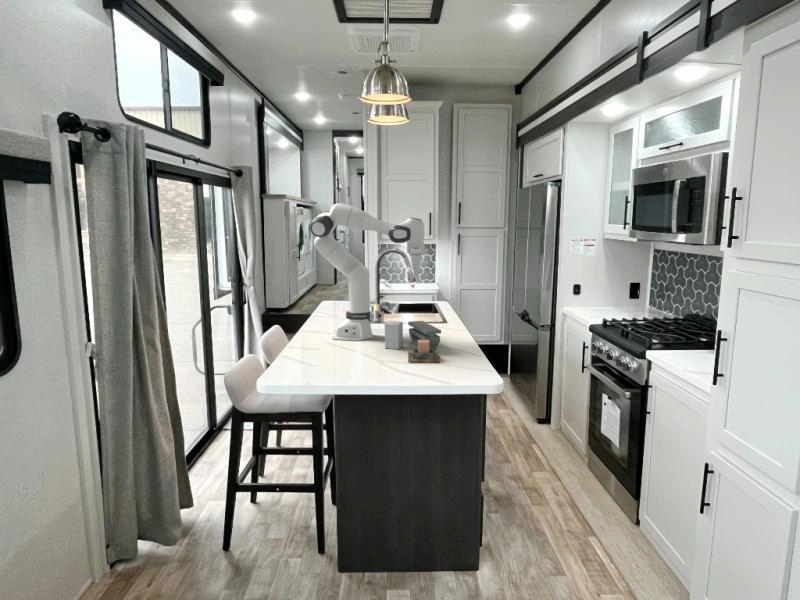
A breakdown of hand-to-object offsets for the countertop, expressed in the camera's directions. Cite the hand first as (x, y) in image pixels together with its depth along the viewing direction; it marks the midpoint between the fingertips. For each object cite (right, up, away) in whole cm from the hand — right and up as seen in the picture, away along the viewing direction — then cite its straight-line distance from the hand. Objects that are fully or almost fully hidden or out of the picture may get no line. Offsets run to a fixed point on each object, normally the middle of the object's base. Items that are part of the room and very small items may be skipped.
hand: (415, 276), depth 255 cm
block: (+3, -38, -29) cm, 47 cm away
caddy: (+3, -39, -28) cm, 48 cm away
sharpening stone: (+4, -36, -7) cm, 37 cm away
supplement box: (-11, -36, -8) cm, 38 cm away
